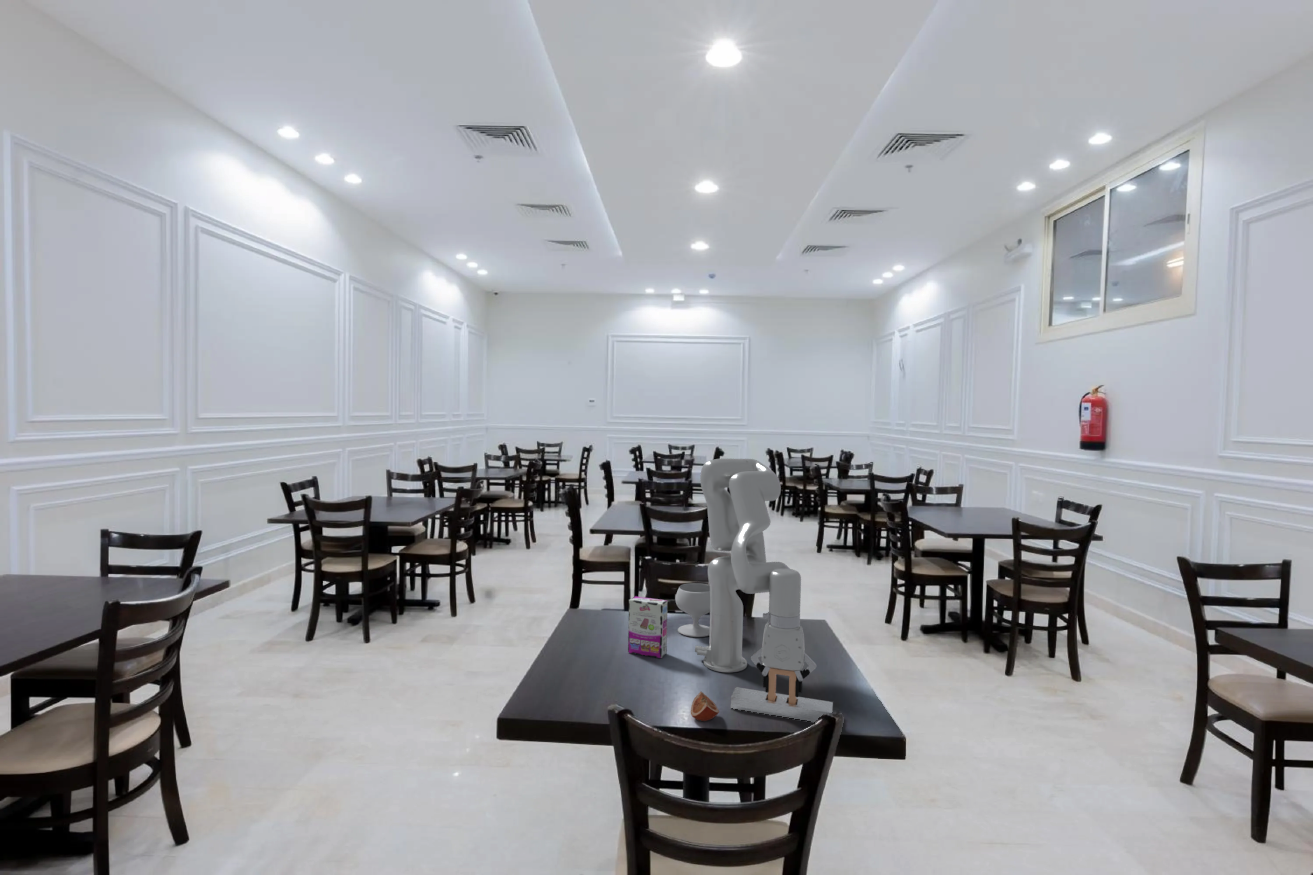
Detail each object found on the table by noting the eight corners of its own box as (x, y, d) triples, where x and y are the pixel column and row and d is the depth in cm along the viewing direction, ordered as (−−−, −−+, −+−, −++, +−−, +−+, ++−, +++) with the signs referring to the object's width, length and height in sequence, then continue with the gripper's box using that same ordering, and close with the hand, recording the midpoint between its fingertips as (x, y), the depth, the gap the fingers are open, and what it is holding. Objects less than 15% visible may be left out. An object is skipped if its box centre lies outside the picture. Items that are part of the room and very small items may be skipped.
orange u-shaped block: (767, 704, 153) (768, 668, 153) (769, 700, 155) (770, 664, 155) (795, 708, 151) (796, 671, 151) (796, 704, 153) (797, 668, 153)
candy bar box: (667, 653, 190) (668, 599, 189) (661, 659, 185) (662, 604, 184) (633, 647, 194) (635, 595, 193) (627, 653, 189) (628, 599, 189)
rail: (730, 708, 154) (731, 696, 154) (735, 698, 160) (735, 686, 160) (831, 725, 147) (831, 712, 147) (832, 714, 152) (832, 701, 152)
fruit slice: (688, 710, 153) (688, 690, 153) (715, 709, 153) (715, 689, 153) (693, 727, 145) (693, 706, 144) (721, 726, 145) (722, 705, 145)
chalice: (672, 625, 216) (673, 582, 215) (711, 624, 217) (713, 581, 217) (678, 639, 202) (679, 593, 201) (720, 638, 203) (721, 593, 203)
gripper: (746, 620, 152) (744, 693, 152) (819, 629, 146) (817, 704, 147) (751, 611, 159) (749, 681, 159) (821, 619, 154) (819, 691, 154)
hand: (782, 691), depth 153 cm, fingers closed on orange u-shaped block, 6 cm apart
